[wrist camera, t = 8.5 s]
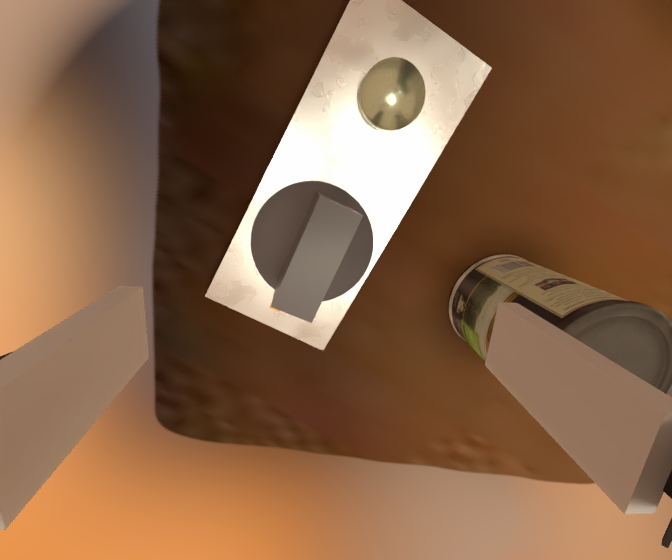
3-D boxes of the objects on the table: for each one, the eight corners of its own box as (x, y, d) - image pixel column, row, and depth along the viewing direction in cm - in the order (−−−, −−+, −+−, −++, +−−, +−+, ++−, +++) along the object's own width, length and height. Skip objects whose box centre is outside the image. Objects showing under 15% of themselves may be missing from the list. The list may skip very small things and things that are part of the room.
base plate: (359, -14, 28) (366, -38, 24) (479, 74, 30) (499, 63, 27) (210, 289, 33) (201, 301, 30) (321, 341, 36) (323, 356, 33)
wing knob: (281, 159, 29) (273, 154, 21) (388, 211, 31) (417, 224, 23) (236, 268, 31) (214, 300, 23) (339, 310, 33) (351, 352, 25)
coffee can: (477, 364, 39) (570, 467, 25) (429, 293, 36) (507, 366, 22) (559, 310, 38) (703, 387, 24) (518, 232, 35) (655, 271, 21)
